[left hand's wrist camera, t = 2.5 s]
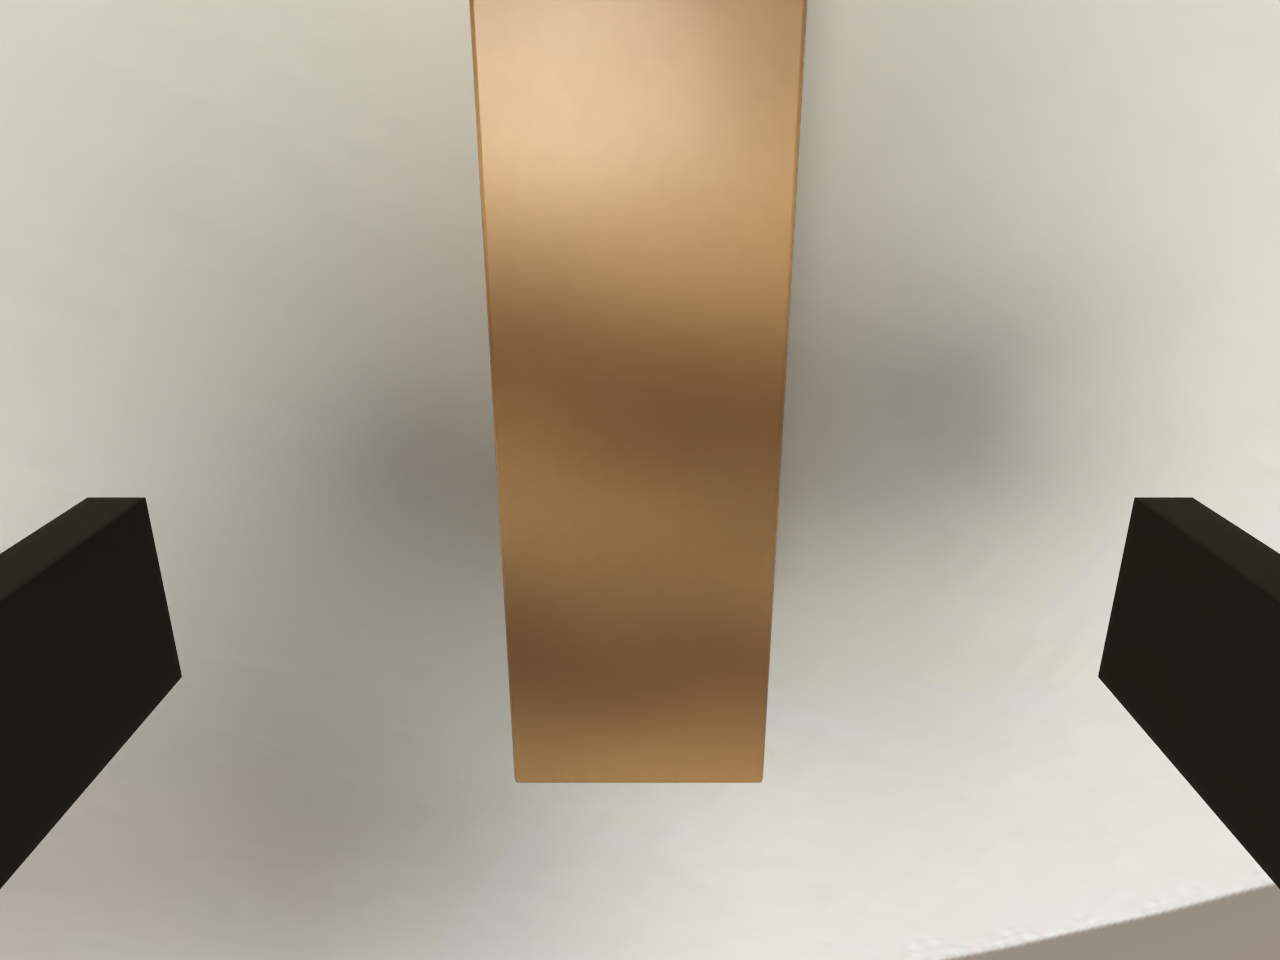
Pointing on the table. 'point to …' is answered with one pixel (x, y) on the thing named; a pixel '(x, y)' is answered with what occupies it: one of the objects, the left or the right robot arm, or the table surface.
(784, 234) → the beam
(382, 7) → the table surface
